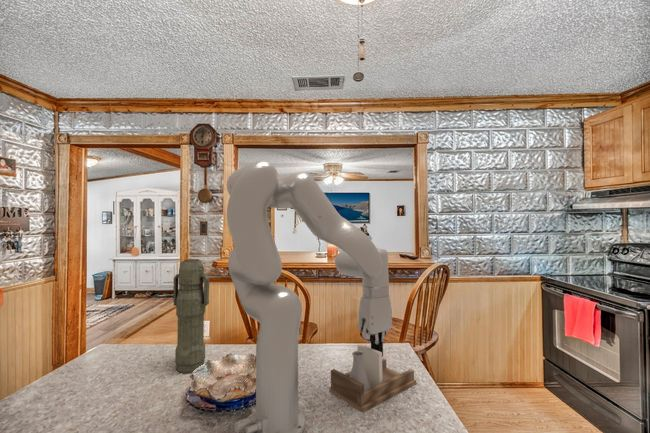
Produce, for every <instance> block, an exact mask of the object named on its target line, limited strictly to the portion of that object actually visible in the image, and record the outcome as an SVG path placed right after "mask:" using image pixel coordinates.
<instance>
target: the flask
mask: <svg viewBox="0 0 650 433" xmlns="http://www.w3.org/2000/svg"><path fill="white" fill-rule="evenodd" d="M351 355H352V356H353V357H352V359H353V362H352V368H351V371H350V372H351V373H350V376H349V377H350V378H352V379H354V380H356V381H358V382H360V383H362V384H364V391H366V390H368V389H370V388H371V386H370V384H369V381H368V378H367V375H366V372H365V369H364V363H363V356H364V353H363V352H360V351H358V350H357V351H356V350H354V351H353V352H352V354H351Z"/></svg>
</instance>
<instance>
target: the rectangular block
mask: <svg viewBox="0 0 650 433" xmlns="http://www.w3.org/2000/svg"><path fill="white" fill-rule="evenodd" d="M357 351H360V352H363V353H364V356H363V363H364V369H365V372H366V375H367V378H368V381H369V384H370V386H371V387H374V386H376V385H378V384H380V383H382V382H383V380H382V359H383V357H382V352H380V351H377V350H375V349H372V348H371V347H369V346H367V345H363V344H361V343H359V344H357Z"/></svg>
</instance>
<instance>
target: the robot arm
mask: <svg viewBox="0 0 650 433" xmlns="http://www.w3.org/2000/svg"><path fill="white" fill-rule="evenodd" d="M277 170H278V169H276V166H274V165H273V164H272V163H270V162H268V161H264V160H258V161H254V162H251V163H248V164H246V165H244V166H242V167H240V168H238V169H235V171H233V172H232V173H231V174H230V175H229V176H228V178H227V181H226V190H227V192H228V195H229V198H228V202H227V207H226V221H227V226H228V229H229V230H228V231H229V234H230V237H231V240H232V244H233V246H234V247H233V248H232V250H231V251H230V253H229V256H228V260H227V267H228V272H229V275H230V279H231V280H232V283H233V286H234V289H235V290H236V294H237V297H238V299H239V302H240V304H241V306H242V308H243V310H244V312H245V313H246V315H248V316H249V318H252V319H253V320H255V321H257V322H258V323H259V331H258V335H257V338H256V345H255V346H256V347H255V377H256V378H255V407H254V408H251V414H250V415H248V416H247V418H245V419H241V420H239V421H237V422H234V431H235V432H236V433H241V432H243V431H245V433H304V431H305V428H306V417H305V415H304V414H303V413H302V412H301V411H300V410H299V335H300V333H299V332H300V326H301V321H302V313H303V306H302V302H301V299H300V297H299V296H298V295H297V293H296V292H295V291H294V290H292V289H291V288H289V287H287V286H284V285H280V284H276V283H275V282H276V281H277V280H278V279H279V277H280V276H281V274H282V270H283V263H282V260H281V259H282V258H281V255H280V252H279V250H278V247H277V245H276V242H275V239H274V237H273V233H272V230H271V227H270V222H269V220H268V219H269V218H268V208H274V209H293V210H294V212H295V213H296V214H297V216H299V218H300V219H301V220H302V221H303V223H304V224H305V225H306V227H307V228H308V229H309V230H310V232H311V233H312V235H314V236H315V237H316V238H318V239H319V240H321V241H324V242H325V243H328V244H331V245H333V246H335V247H336V248H339V249H340V250H341V251H339V252H338V253H337V255H336V257H335V258H334V266H335V268H336V270H337V271H338V272H339V273H340V274H341V275H344V276H348V277H354V278H360V279H362V281H361V282H362V286H361V287H362V296H361V297H360V300H359V307H358V317H357V318H358V319H357V320H358V321H357V322H358V325H357V326H358V331H359V332H362V333H361V334H362V335H361V338H362V339H363V340H368V341H369V343H370V348H372V349H375V350H377V351H380V352H382V358H383V357H384V343H385V338H386V335H387V334H388V333H389V332H391V328H392V326H393V311H392V303H391V302H392V300H391V298H390V297H391V296H390V287H389V286H390V280H389V276H390V275H389V253H388V251H387V250H386V249H384V248H377V246H376V245H375V243H374V242H373V241H372V240H371V238H370V237H369V236H368V235H367V233H365V232H364V231H362V230H361V229H360V228H358V227H357V226H356V225H354V224H353V223H352V222H350V221H349V220H348V219H346V218H345V217H343V216H341V215H340V213H339V212H338V211H337V209H336V208H335V207H334V206H335V205H333V204H332V202H331V201H330V199H329V198H328V196H327V195H326V194H325V193H324V191H323V190H322V188H321V187H320V185H319V184H318V183H317V181H316V180H315V178H314V177H312V175H310V174H308V173H307V172H303V171H302V172H295V173H291V174H287V175H285V176H279V173H278V171H277Z"/></svg>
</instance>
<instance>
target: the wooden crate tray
mask: <svg viewBox="0 0 650 433" xmlns="http://www.w3.org/2000/svg"><path fill="white" fill-rule="evenodd" d="M350 373H351V371H348V372H346V373H343V372H341V371H339V370H337V369H335V368H332V369H331V370H330V387H329V388H328V392H329V393H331V394H332V395H334V396H336V397H337V398H339V399H341V400H342V401H344V402H345V403H347V404H349V405H350V406H352V407H353V408H355V409H357V410H359V411H360V412H362V413H365V412H367V411H369V410H371V409H372V408H374V407H376V406H378V405H380V404H382V403H384V402H386V401H388V400H389V399H391V398H393V397H396V396H397V395H398V394H401V393H402V392H404V391H406V390H408V389H410V388H412V387H414V386H416V385H417V379H415V370H413V369H411V368H410V369H408V370H405V371H403V372H401V373H400V372H397V371H395V370H393V369H390V368H388V367H387V359H386V358H383V357H382V380H383V382H382V383H380V384H378V385H376V386H374V387H371V388H370V389H368V390H366V391H364V384H362V383H360V382H358V381H356V380H354V379H352V378H350V377H349V376H350Z"/></svg>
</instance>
